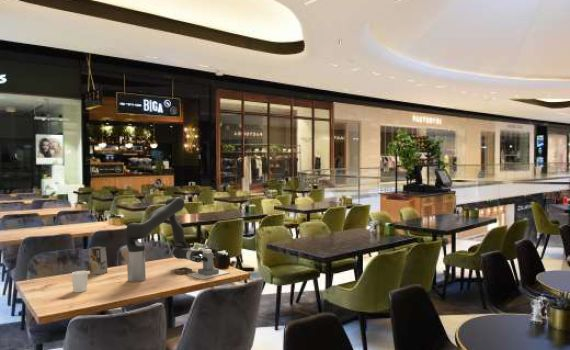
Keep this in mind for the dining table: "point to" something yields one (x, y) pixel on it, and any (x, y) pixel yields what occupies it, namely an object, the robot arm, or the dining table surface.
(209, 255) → the grey bottle
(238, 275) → the dining table surface
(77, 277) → the white cup
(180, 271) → the holster
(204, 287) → the dining table surface
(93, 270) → the coffee box
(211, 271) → the port
